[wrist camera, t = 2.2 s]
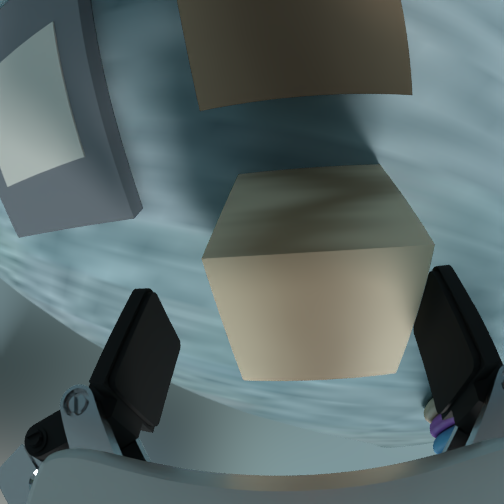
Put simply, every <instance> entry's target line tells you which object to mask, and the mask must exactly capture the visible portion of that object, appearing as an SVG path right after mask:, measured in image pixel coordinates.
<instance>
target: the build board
mask: <svg viewBox="0 0 504 504" xmlns="http://www.w3.org/2000/svg"><path fill="white" fill-rule="evenodd" d="M0 198H1V200H2V202H3V205H4V207H5V209H6V212H7V214H8V216H9V218H10V220H11V223H12V225H13V227H14V229H15V231H16V233H17V235H18V237H19V238H20V237H25V236H30V235H35V234H41V233H46V232H52V231H57V230H63V229H69V228H75V227H81V226H87V225H94V224H100V223H107V222H113V221H120V220H127V219H134V218H135V217H136V216H137V215H138V214H139V212H140V211H141V210H142V209H143V207H142V204H141V201H140V198H139V195H138V192H137V190H136V187H135V183H134V180H133V177H132V174H131V171H130V168H129V165H128V162H127V158H126V155H125V152H124V148H123V145H122V142H121V138H120V135H119V131H118V127H117V124H116V120H115V116H114V113H113V109H112V105H111V101H110V97H109V93H108V89H107V85H106V80H105V76H104V72H103V67H102V63H101V58H100V53H99V48H98V43H97V37H96V32H95V26H94V20H93V14H92V7H91V0H9V1H8V2H7V3H6V4H4V5H3V6H2V7H1V8H0Z"/></svg>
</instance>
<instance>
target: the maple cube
mask: <svg viewBox="0 0 504 504" xmlns="http://www.w3.org/2000/svg"><path fill="white" fill-rule="evenodd" d="M434 246H435V244H434V242H433V241H432V239H431V237H430V236H429V234H428V233H427V231H426V229H425V228H424V226H423V225H422V223H421V222H420V220H419V219H418V217H417V216H416V214H415V213H414V211H413V210H412V208H411V207H410V205H409V204H408V202H407V201H406V199H405V198H404V197H403V195H402V194H401V192H400V191H399V190H398V188H397V187H396V185H395V184H394V183H393V181H392V180H391V179H390V177H389V176H388V175H387V173H386V172H385V171H384V169H383V168H382V167H381V165H380V164H376V165H347V166H328V167H312V168H298V169H286V170H275V171H265V172H255V173H246V174H238V176H237V179H236V181H235V183H234V185H233V187H232V190H231V192H230V194H229V196H228V199H227V201H226V203H225V205H224V208H223V210H222V212H221V214H220V217H219V219H218V221H217V224H216V226H215V228H214V231H213V233H212V235H211V238H210V240H209V242H208V245H207V247H206V249H205V252H204V254H203V257H202V262H203V265H204V268H205V271H206V274H207V277H208V280H209V283H210V286H211V289H212V292H213V296H214V299H215V301H216V304H217V307H218V310H219V313H220V316H221V319H222V322H223V325H224V328H225V331H226V334H227V336H228V339H229V342H230V345H231V348H232V350H233V353H234V356H235V359H236V361H237V364H238V367H239V370H240V372H241V375H242V378H243V380H249V381H302V380H327V379H343V378H356V377H367V376H376V375H385V374H393V373H396V371H397V369H398V366H399V364H400V361H401V358H402V356H403V353H404V350H405V348H406V345H407V342H408V339H409V337H410V334H411V331H412V328H413V325H414V322H415V318H416V315H417V312H418V309H419V305H420V302H421V299H422V295H423V292H424V288H425V284H426V280H427V276H428V272H429V268H430V264H431V260H432V255H433V251H434Z"/></svg>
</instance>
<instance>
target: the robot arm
mask: <svg viewBox="0 0 504 504" xmlns="http://www.w3.org/2000/svg"><path fill="white" fill-rule="evenodd" d="M414 335H415V338H416V341H417V344H418V347H419V350H420V354H421V357H422V360H423V363H424V367H425V370H426V374H427V377H428V381H429V384H430V388H431V392H432V396H433V400H434V404H435V408H436V411H437V413H438V414H441V417H442V420H446V419H449V418H452V417H454V422H455V428H454V430H453V432H452V434H451V436H450V438H449V440H448V442H447V444H446V446H445V447H444V449H443V451H442V453H440V454H436V455H433V456H429V457H425V458H421V459H416V460H412V461H408V462H403V463H399V464H394V465H389V466H384V467H378V468H372V469H366V470H359V471H351V472H341V473H331V474H318V475H297V476H259V475H240V474H226V473H215V472H207V471H198V470H192V469H184V468H179V467H173V466H167V465H162V464H157V463H152V462H151V460H150V459H149V456H148V455H147V453H146V451H145V449H144V447H143V445H142V443H141V441H140V438H139V433H140V430H142V431H147V432H152V433H153V431H154V427H155V426H157V425H158V424H159V421H160V418H161V414H162V411H163V407H164V403H165V400H166V396H167V392H168V388H169V385H170V382H171V378H172V375H173V371H174V368H175V365H176V361H177V358H178V354H179V351H180V340H179V338H178V336H177V334H176V332H175V330H174V328H173V326H172V324H171V322H170V320H169V318H168V316H167V314H166V312H165V310H164V308H163V306H162V304H161V302H160V300H159V298H158V296H157V294H156V293H155V292H153V291H152V290H151V289H149V288H145V289H135V290H133V292H132V294H131V295H130V297H129V299H128V301H127V303H126V305H125V307H124V309H123V311H122V313H121V315H120V317H119V319H118V321H117V323H116V325H115V327H114V329H113V331H112V333H111V335H110V337H109V339H108V341H107V343H106V345H105V347H104V350H103V352H102V354H101V356H100V358H99V360H98V363H97V365H96V367H95V369H94V371H93V374H92V376H91V378H90V380H89V382H90V385H89V387H87V386H85V385H82V384H80V385H75V386H72V387H71V388H69V389H68V390H67V391H66V392H65V393H64V395H63V396H62V398H61V402H60V410H59V411H57V412H55V413H53V414H52V415H50V416H48V417H47V418H45V419H43V420H42V421H40V422H38V423H36V424H35V425H33V426H32V427H31V428H30V429H29V430H28V431H27V434H26V436H25V446H24V445H23V444H21V445H20V447H19V448H18V449H17V450H16V451H15V452H14V453H13V454H12V455H11V456H10V457H9V458H8V459H7V461H6V462H5V463H4V464H3V465H2V466H1V467H0V489H1V491H2V493H3V495H4V497H5V499H6V500H7V502H8V504H504V365H503V364H502V361H501V359H500V357H499V354H498V352H497V350H496V347H495V345H494V343H493V341H492V339H491V337H490V335H489V332H488V330H487V328H486V326H485V324H484V322H483V320H482V318H481V316H480V315H479V313H478V311H477V309H476V307H475V305H474V304H473V302H472V301H471V299H470V297H469V295H468V293H467V292H466V290H465V288H464V286H463V285H462V283H461V281H460V280H459V278H458V276H457V275H456V273H455V271H454V270H453V268H452V267H451V266H450V265H444V266H436V267H434V268H433V270H432V271H431V272H429V274H428V278H427V282H426V285H425V289H424V293H423V296H422V300H421V303H420V307H419V310H418V313H417V317H416V320H415V323H414Z"/></svg>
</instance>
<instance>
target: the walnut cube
mask: <svg viewBox="0 0 504 504" xmlns="http://www.w3.org/2000/svg"><path fill="white" fill-rule="evenodd" d="M177 3H178V8H179V13H180V18H181V23H182V28H183V33H184V38H185V43H186V48H187V53H188V58H189V62H190V67H191V72H192V77H193V81H194V86H195V91H196V95H197V100H198V105H199V109H200V111H203V110H208V109H213V108H218V107H224V106H230V105H236V104H242V103H249V102H256V101H263V100H271V99H280V98H290V97H301V96H314V95H333V94H401V95H412V81H411V68H410V58H409V49H408V41H407V34H406V27H405V21H404V15H403V10H402V4H401V0H177Z"/></svg>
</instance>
